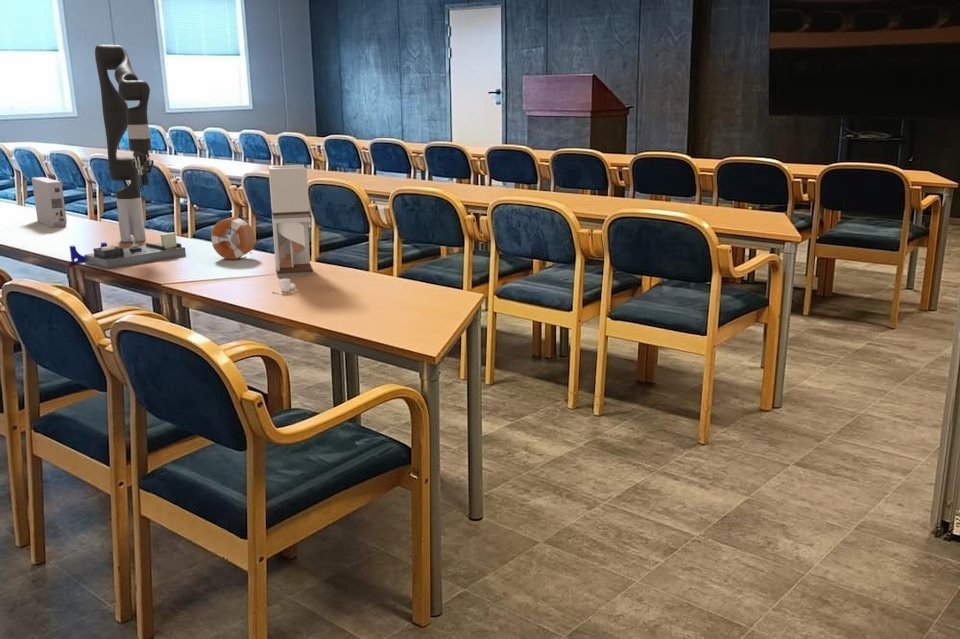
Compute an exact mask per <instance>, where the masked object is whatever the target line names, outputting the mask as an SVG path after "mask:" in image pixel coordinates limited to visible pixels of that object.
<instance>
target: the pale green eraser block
mask: <svg viewBox="0 0 960 639" xmlns="http://www.w3.org/2000/svg"><path fill="white" fill-rule="evenodd" d="M160 241H161V242H160V243H162V246H165V248H169V247H175V246H177V244H176V243H177V237H176V232H174V231H173V232H166V233H161V234H160Z"/></svg>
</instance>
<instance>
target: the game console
mask: <svg viewBox="0 0 960 639" xmlns="http://www.w3.org/2000/svg"><path fill="white" fill-rule="evenodd" d="M31 182H32V184H31V185H32V191H33V197H34V205H35V211H36V212H35V213H36V219H37V222H39V223H42V224H44V225H46V226H49V227H51V228H60V227H61V228H62V227H66V226H67V223H68V221H67V215H66V214H67V212H66V206H65V200H64V192H63V190H64V189H63V184H62V181H60V180H56V179H51V178H48V177H46V176H39V177H31Z"/></svg>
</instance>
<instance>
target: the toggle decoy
mask: <svg viewBox="0 0 960 639" xmlns="http://www.w3.org/2000/svg"><path fill="white" fill-rule="evenodd" d="M130 238H131V241H132V242H131V243H132V245H131V244H130V248H131V247H132V248H135V247H139V246H140V245H139V244H138V243H137V242H135V239H134V236H133V235H131V236H130Z"/></svg>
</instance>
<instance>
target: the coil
mask: <svg viewBox="0 0 960 639" xmlns="http://www.w3.org/2000/svg"><path fill="white" fill-rule="evenodd" d="M242 218H244V215H243V216H241V218H240V217H237V216H234V217H233V216H232V217H228V218H224V219H221V220H219V221H218V222H216V223H215V225H214V226H213V227H212V229H211V233H210V235H211V242H212V245H211V246H212V247H213V249H214V251H215V253H216V254H218V255H219V256H220V257H222V258H223V259H227V260H231V261H232V260H241V259H245V258H247V254H248V253H249V254H253V252H252V250H253V249H254V247H255V244H256V242H255V241H256V236H255V232H254V230H253V228H252V226H251V224H250V223H248V222H250V220H246V221H245V220H244V219H242ZM229 229H230V234H227V233H228V230H229ZM244 255H245V256H244ZM243 256H244V257H243Z"/></svg>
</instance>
